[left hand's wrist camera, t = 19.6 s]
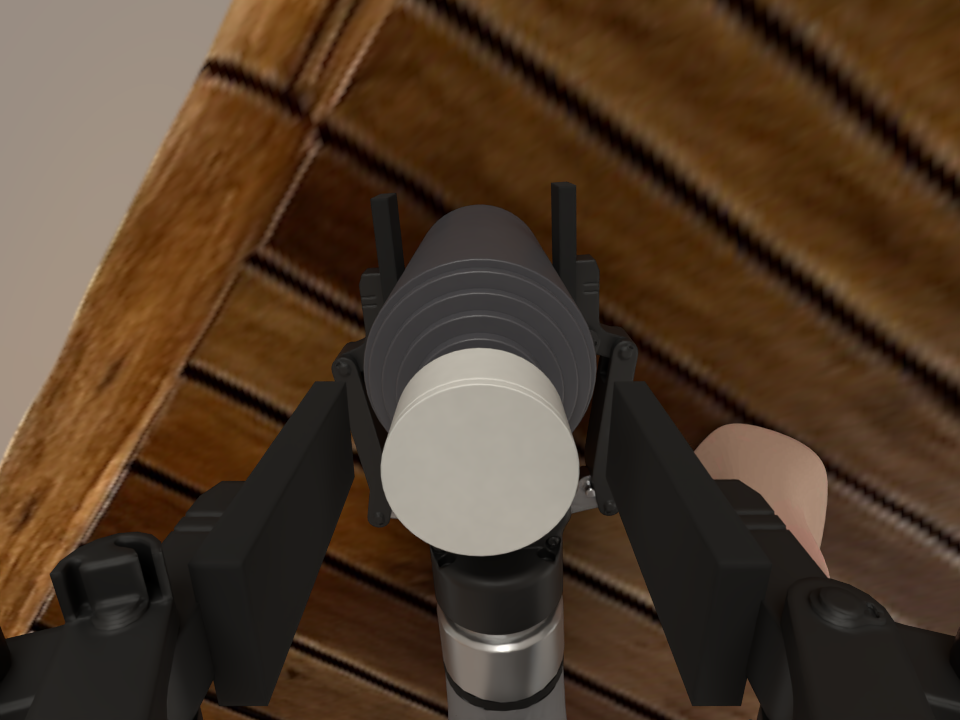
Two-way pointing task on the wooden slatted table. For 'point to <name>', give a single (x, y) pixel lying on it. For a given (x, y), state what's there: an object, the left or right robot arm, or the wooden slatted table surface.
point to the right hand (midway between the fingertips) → (473, 190)
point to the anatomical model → (773, 477)
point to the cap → (480, 454)
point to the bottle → (480, 310)
